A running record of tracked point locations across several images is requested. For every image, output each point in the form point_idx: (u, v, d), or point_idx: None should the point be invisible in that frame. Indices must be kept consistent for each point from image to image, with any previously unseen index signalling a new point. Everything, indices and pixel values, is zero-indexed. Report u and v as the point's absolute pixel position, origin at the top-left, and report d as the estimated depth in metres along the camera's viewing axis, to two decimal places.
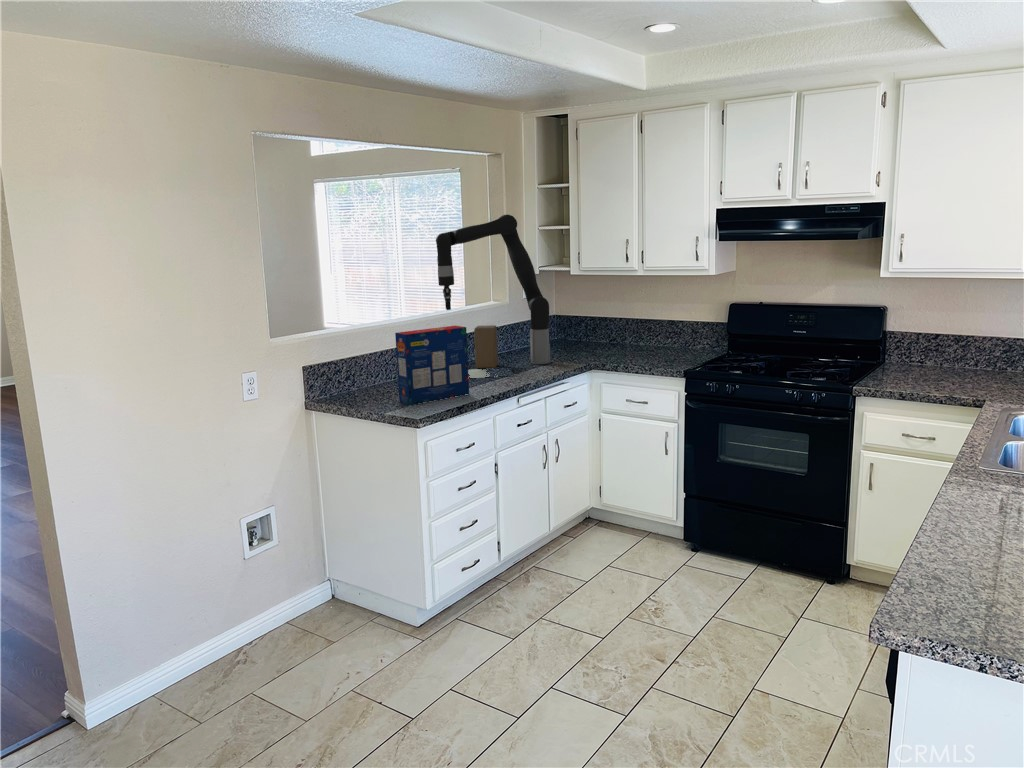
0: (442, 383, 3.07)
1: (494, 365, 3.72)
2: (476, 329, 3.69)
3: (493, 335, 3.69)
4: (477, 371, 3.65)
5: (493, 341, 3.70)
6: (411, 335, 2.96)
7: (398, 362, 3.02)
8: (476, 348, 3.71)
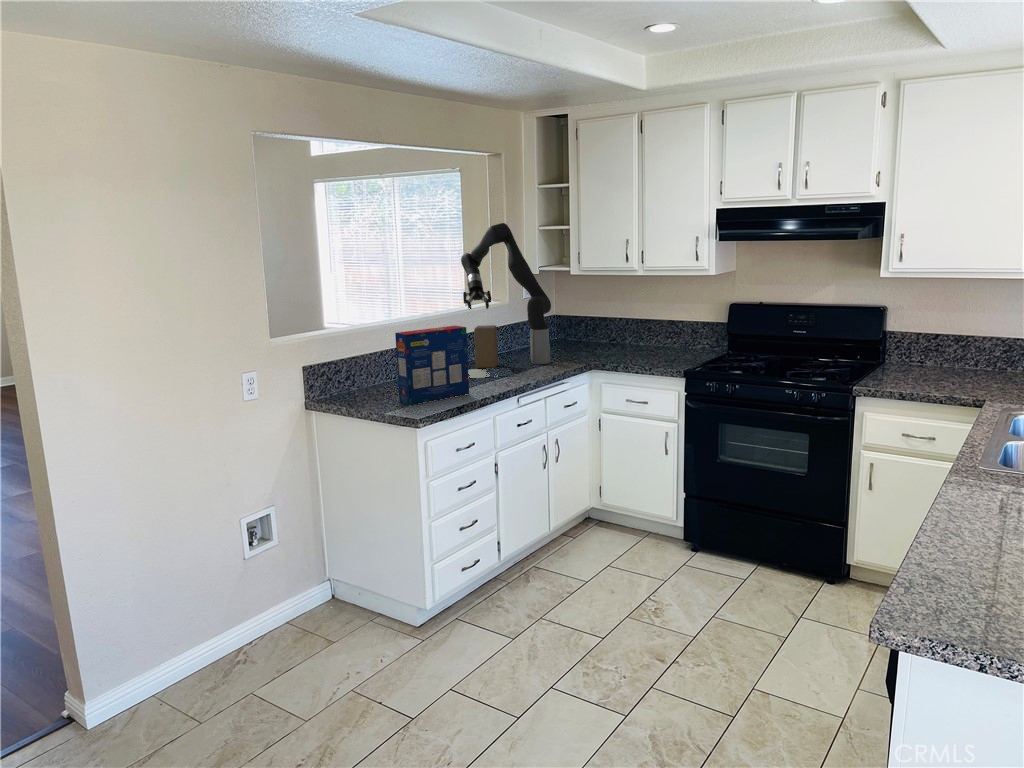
0: (442, 383, 3.07)
1: (494, 365, 3.72)
2: (476, 329, 3.69)
3: (493, 335, 3.69)
4: (477, 371, 3.65)
5: (493, 341, 3.70)
6: (411, 335, 2.96)
7: (398, 362, 3.02)
8: (476, 348, 3.71)
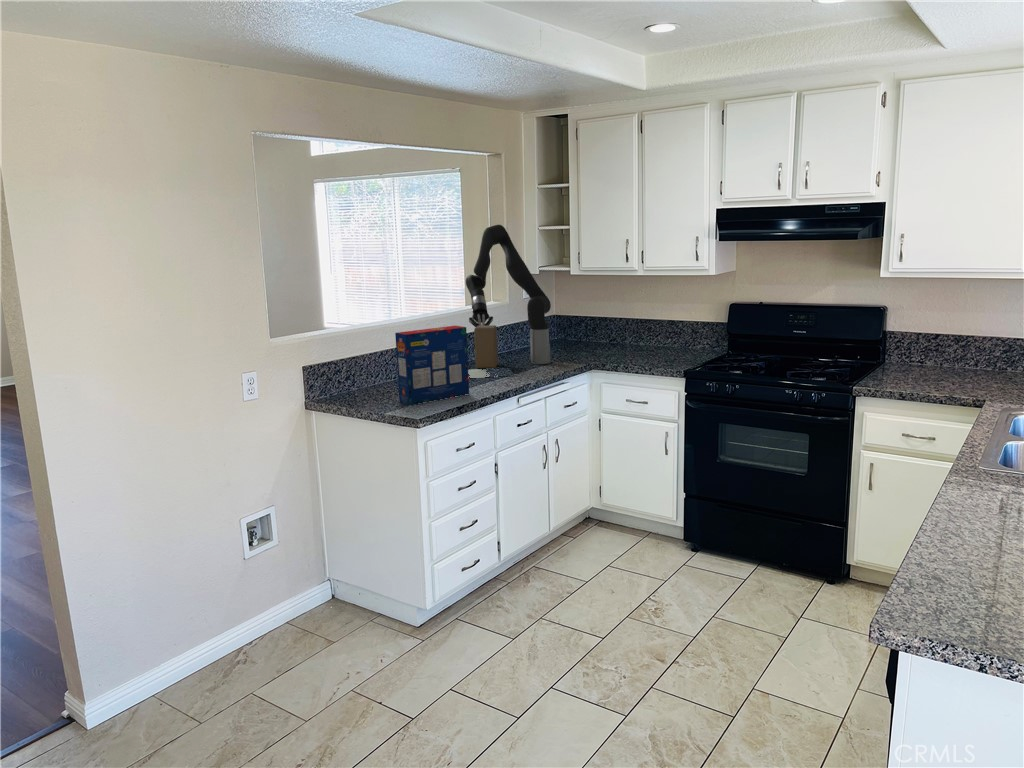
0: (442, 383, 3.07)
1: (494, 365, 3.72)
2: (476, 329, 3.69)
3: (493, 335, 3.69)
4: (477, 371, 3.65)
5: (493, 341, 3.70)
6: (411, 335, 2.96)
7: (398, 362, 3.02)
8: (476, 348, 3.71)
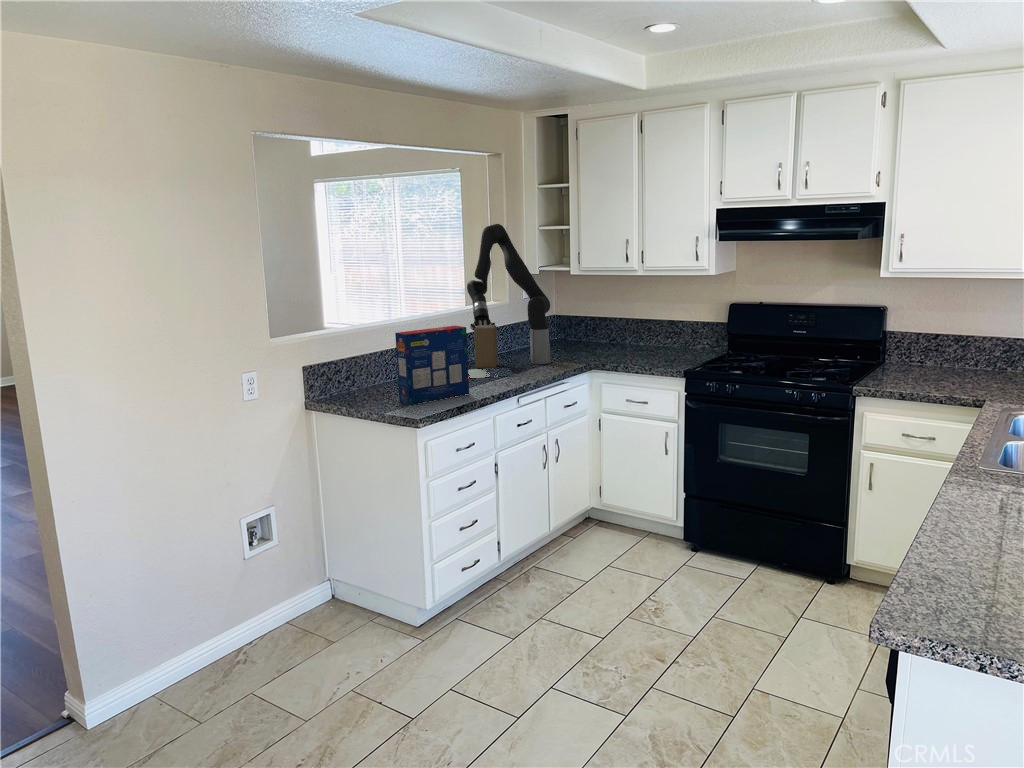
0: (442, 383, 3.07)
1: (494, 365, 3.72)
2: (476, 329, 3.69)
3: (493, 335, 3.69)
4: (477, 371, 3.65)
5: (493, 341, 3.70)
6: (411, 335, 2.96)
7: (398, 362, 3.02)
8: (476, 348, 3.71)
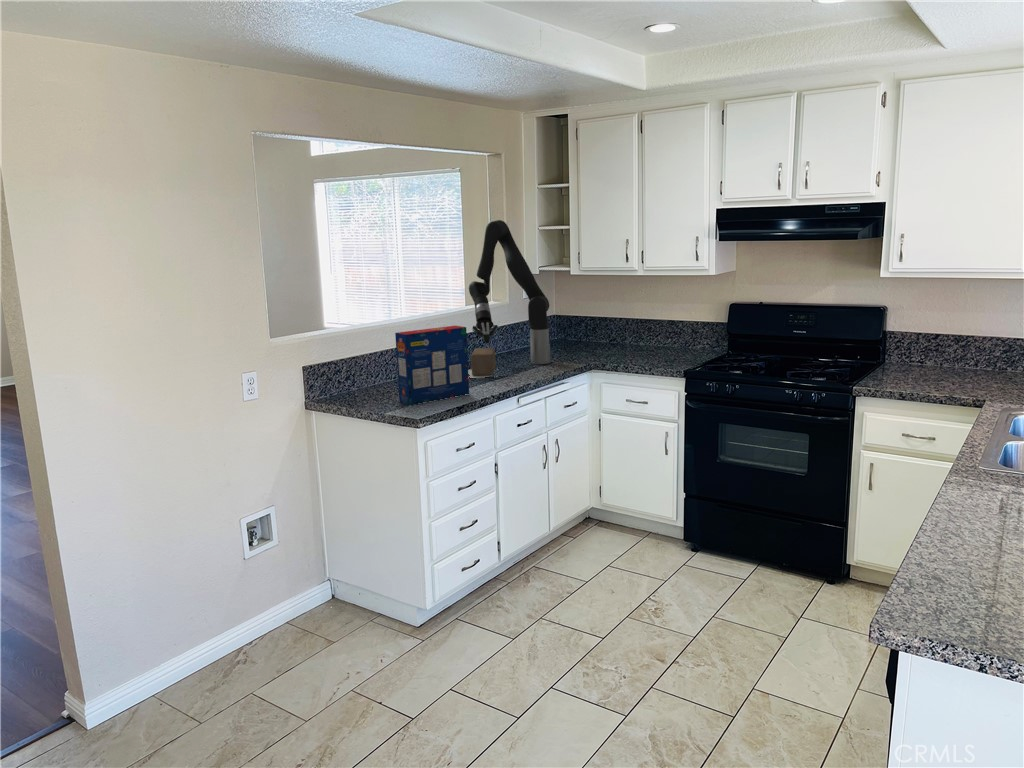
0: (442, 383, 3.07)
1: None
2: (474, 375, 3.54)
3: None
4: None
5: None
6: (411, 335, 2.96)
7: (398, 362, 3.02)
8: None
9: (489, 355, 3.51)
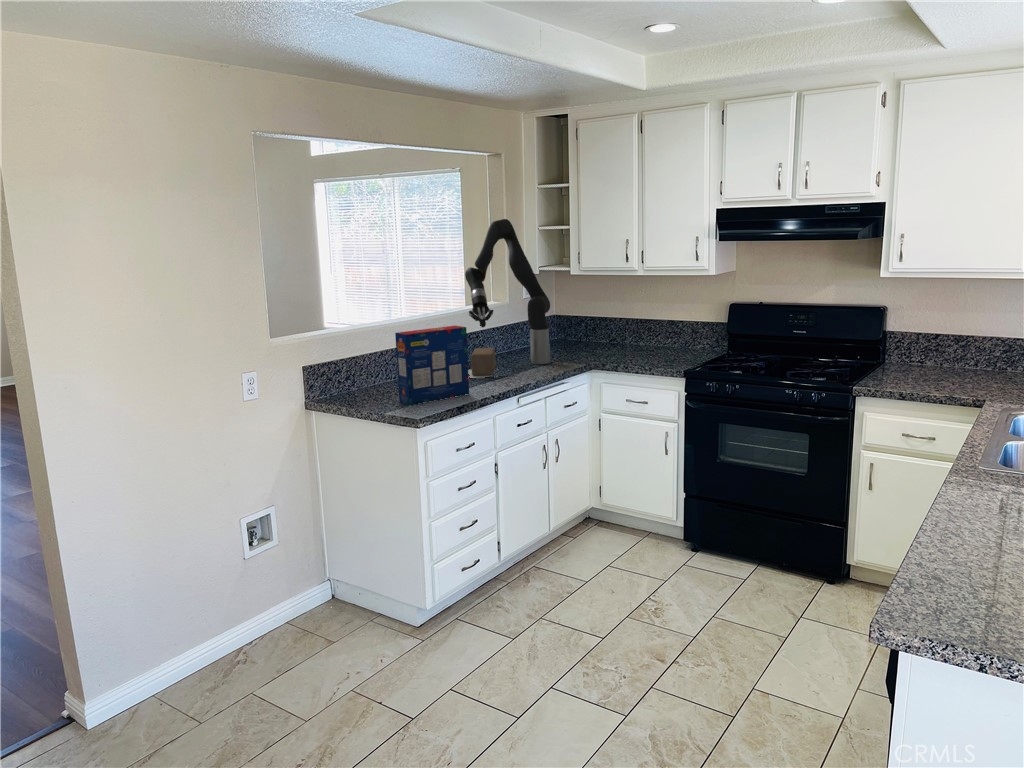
0: (442, 383, 3.07)
1: None
2: (474, 375, 3.54)
3: None
4: None
5: None
6: (411, 335, 2.96)
7: (398, 362, 3.02)
8: None
9: (489, 355, 3.51)
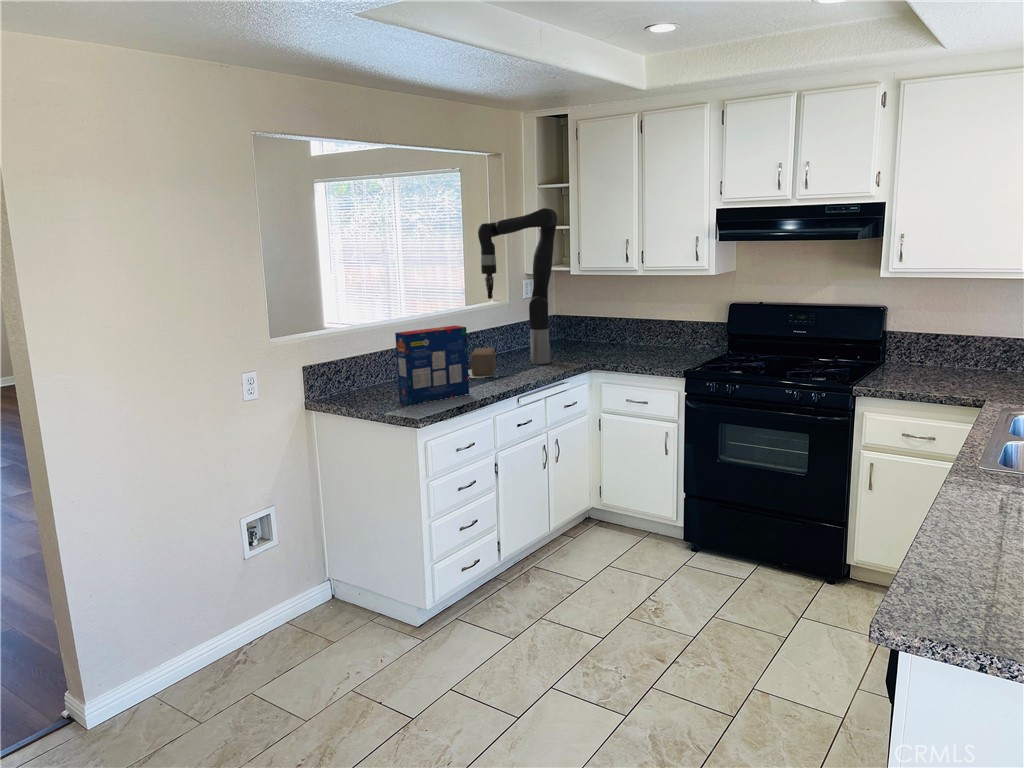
0: (442, 383, 3.07)
1: None
2: (474, 375, 3.54)
3: None
4: None
5: None
6: (411, 335, 2.96)
7: (398, 362, 3.02)
8: None
9: (489, 355, 3.51)
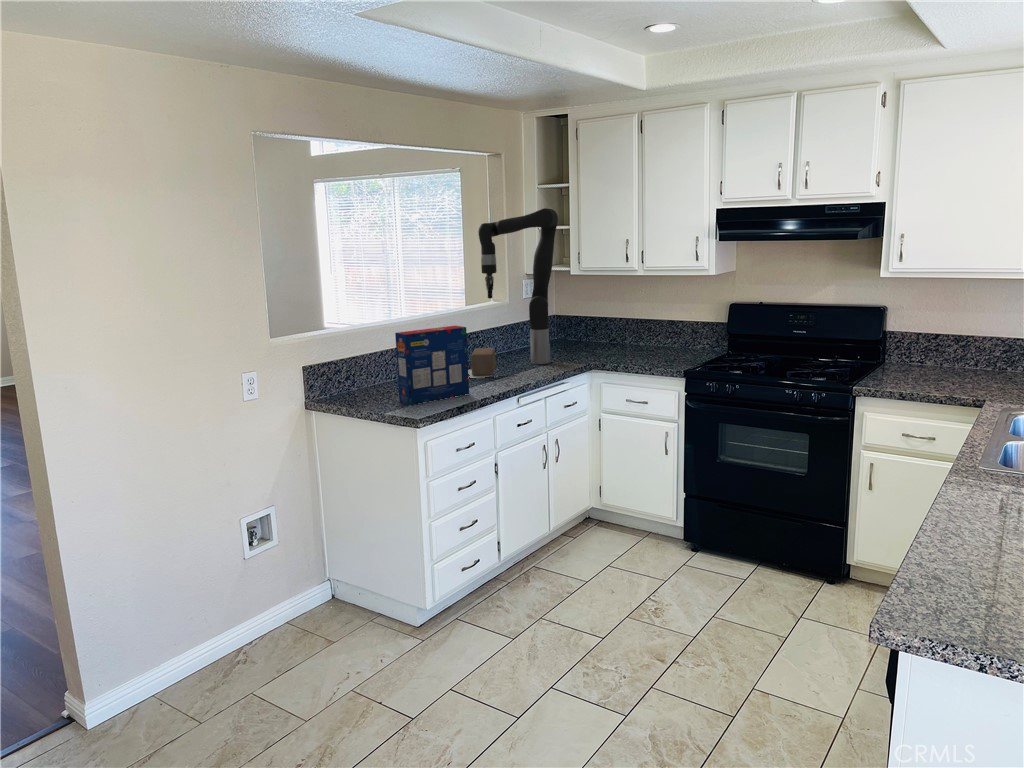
0: (442, 383, 3.07)
1: None
2: (474, 375, 3.54)
3: None
4: None
5: None
6: (411, 335, 2.96)
7: (398, 362, 3.02)
8: None
9: (489, 355, 3.51)
